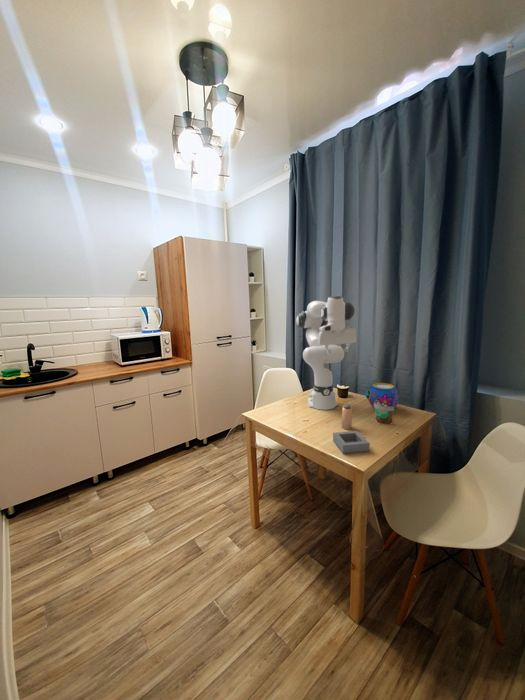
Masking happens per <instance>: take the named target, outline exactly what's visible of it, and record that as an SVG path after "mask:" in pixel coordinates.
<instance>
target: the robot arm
mask: <svg viewBox="0 0 525 700" xmlns="http://www.w3.org/2000/svg"><path fill="white" fill-rule="evenodd" d="M344 301H345V300H344V298H343V296H341V295H332V296H329V297H328V298H327V302H325V301H322V300H313V301H311V302H309V303H308V304H307V307H306V310H305V311H304V310H302V311H301V312H299V313H298V314H297V315H296V319H295V323H296V325H297V327H298V328H300V329H306V331H305V339H306V342H307V344H308V345H309V346H307V347H305V349H303V352H302V359H303V360H304V361H303V362H305V363H306V364H307V365H308V366H310V367H311V369H312V371H313V378H314V384H313V387H312V388H313V389H312V391H310V394H309V393H308V397H307V404H308V407H309V408H311V409H312V408H313V409H317V410H322V411H326V410H333V409H334V408H336V406H338V405H339V403H338V402H336V400H337V399H336V392H335V391H334V384H333V373H332V371H331V370H330V369H328V368H326V367H324V364H333V363H339V362H342V361H343V360H344V357H345V353H348V352H349V348H350V347H351V344H356V342H357V340H358V339H357V328H356V327H355V326H354V325H346V321H350V320H351V319H352V318H353V316H354V315H355V307H354V305H353V304H352V303H351V302H350V301H346V302H344ZM339 345H346V347H345V348H343V347H342V346H339Z"/></svg>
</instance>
